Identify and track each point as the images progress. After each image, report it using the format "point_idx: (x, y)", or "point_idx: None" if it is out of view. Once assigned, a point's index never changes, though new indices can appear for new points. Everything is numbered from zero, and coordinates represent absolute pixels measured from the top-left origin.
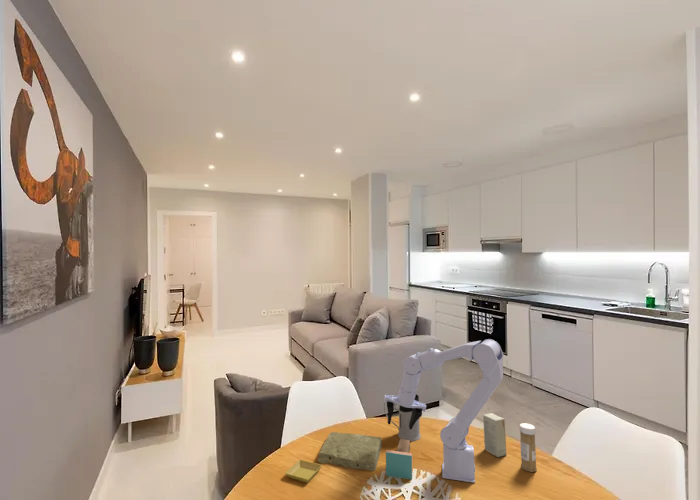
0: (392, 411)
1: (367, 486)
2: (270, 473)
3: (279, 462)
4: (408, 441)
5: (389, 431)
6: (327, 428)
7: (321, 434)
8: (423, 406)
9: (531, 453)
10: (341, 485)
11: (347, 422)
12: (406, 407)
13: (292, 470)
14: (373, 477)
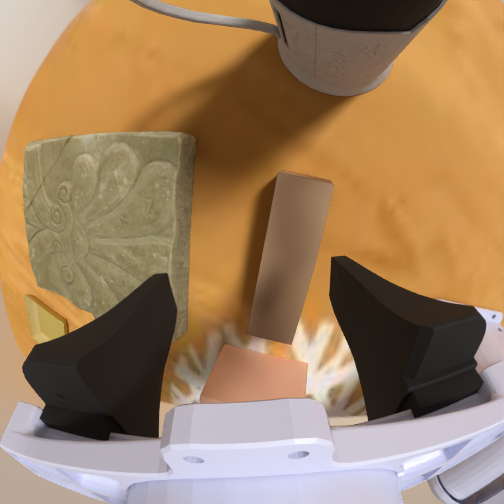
0: (152, 424)
1: (180, 386)
2: (18, 314)
3: (9, 279)
4: (325, 199)
5: None
6: (31, 83)
7: (22, 127)
8: (475, 452)
9: None
10: None
11: (78, 15)
12: (332, 6)
13: (34, 320)
14: (188, 360)
